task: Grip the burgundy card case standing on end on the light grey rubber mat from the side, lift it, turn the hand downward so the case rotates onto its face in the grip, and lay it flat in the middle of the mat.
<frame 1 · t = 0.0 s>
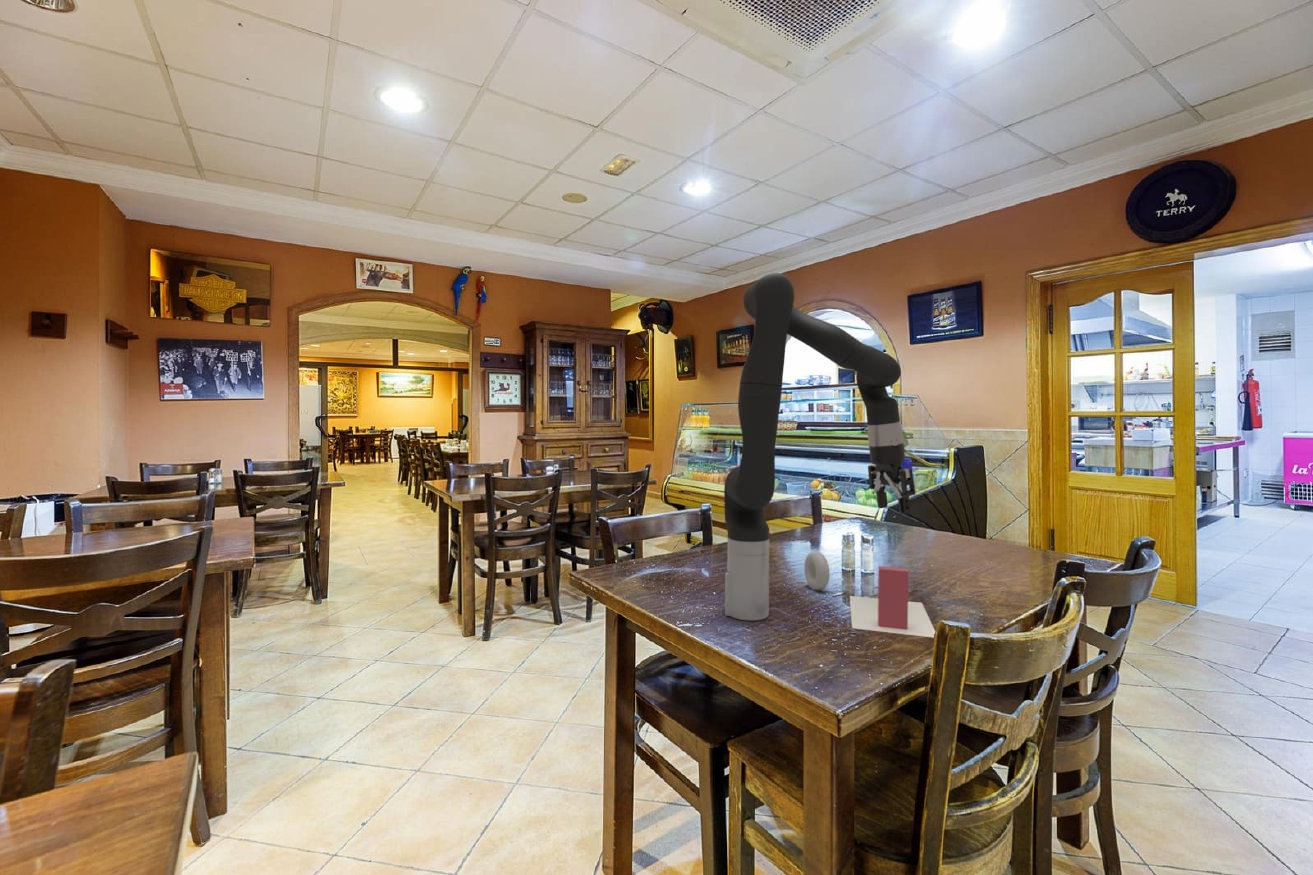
hand: (893, 510, 128), 22 cm above the table, tool pointing down, fingers open, 8 cm apart
donut: (816, 591, 139), on the table
mat: (889, 617, 120), on the table
card case: (892, 625, 113), point 1 cm above the table, touching mat
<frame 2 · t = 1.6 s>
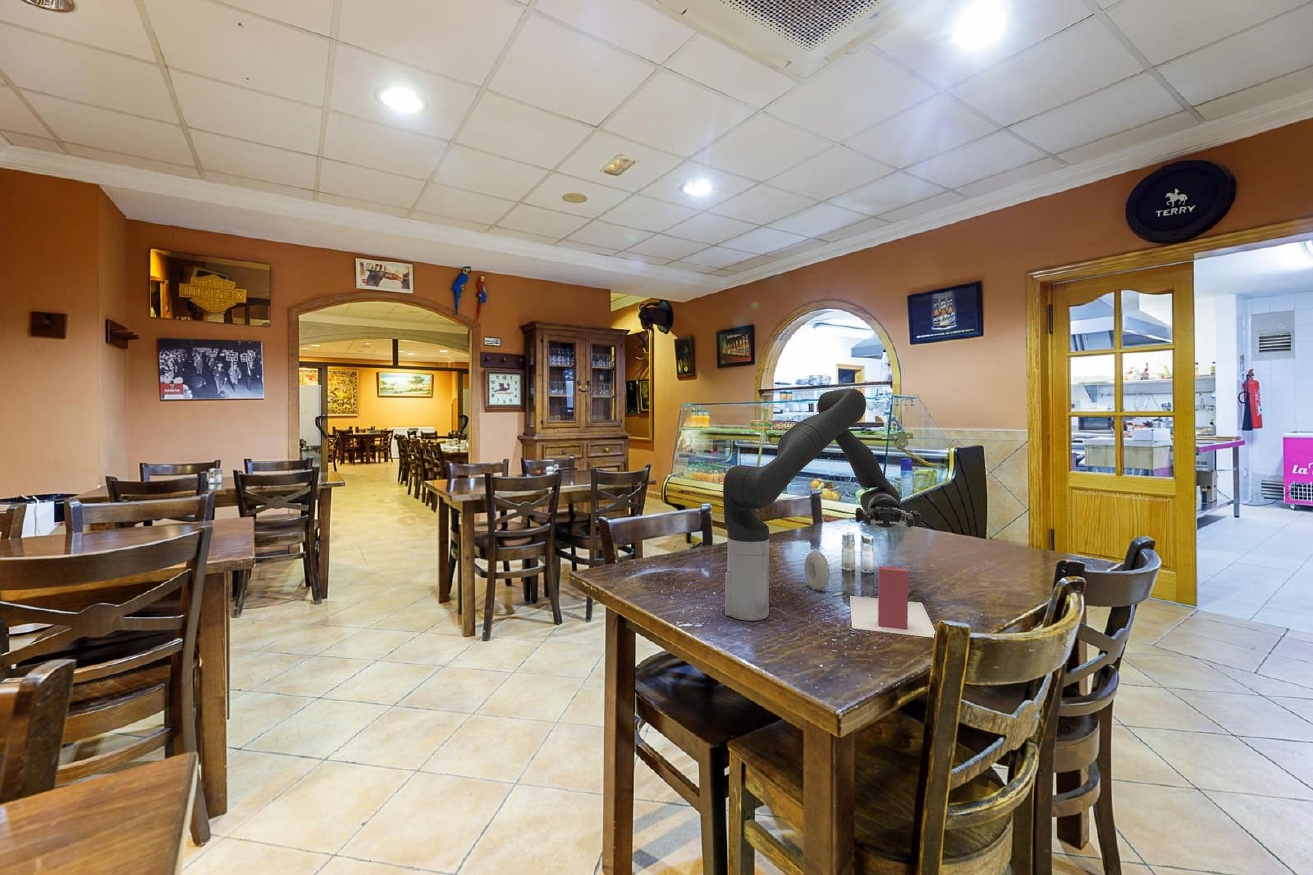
hand: (889, 521, 124), 20 cm above the table, tool horizontal, fingers open, 8 cm apart
nothing on the table moved.
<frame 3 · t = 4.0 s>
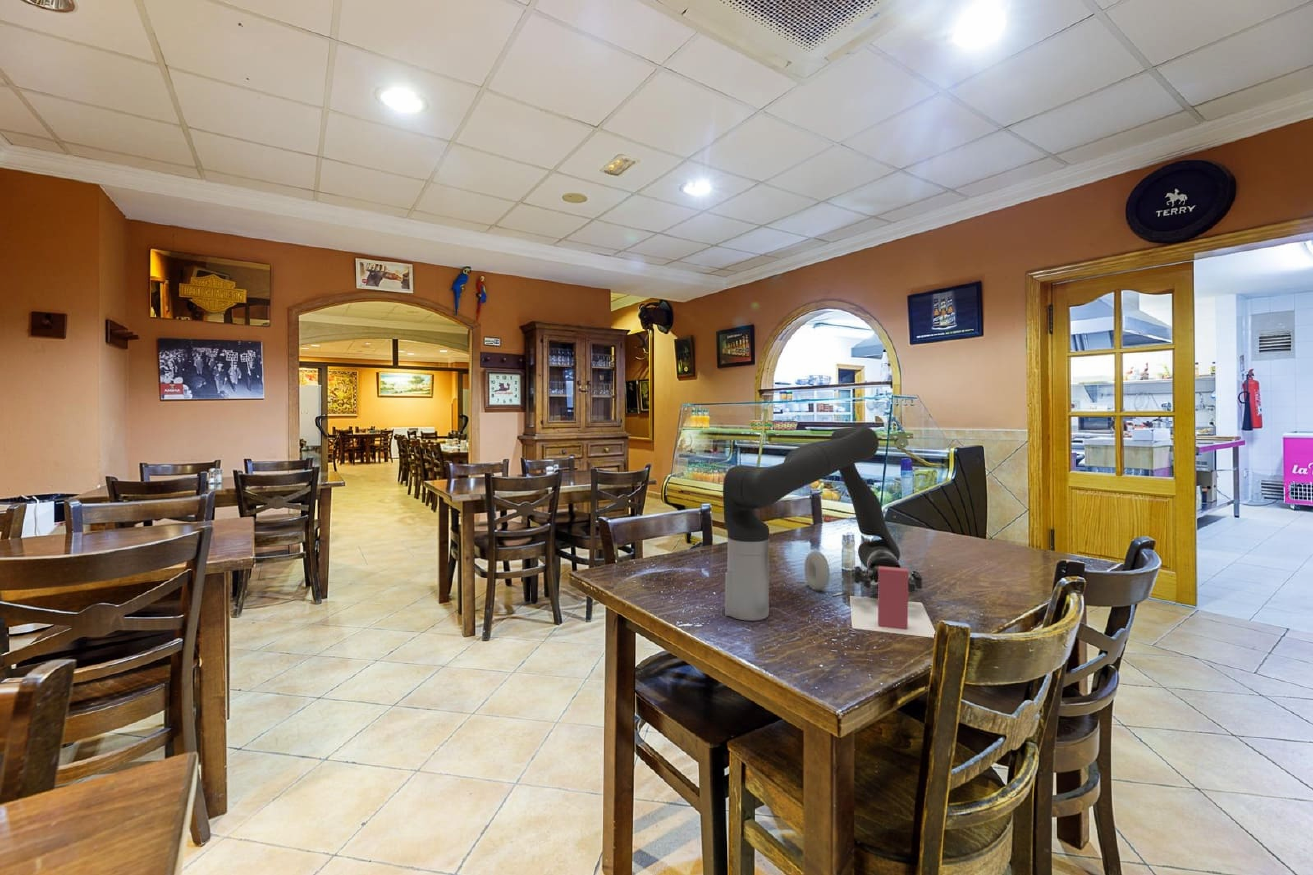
hand: (889, 586, 119), 7 cm above the table, tool horizontal, fingers open, 8 cm apart
nothing on the table moved.
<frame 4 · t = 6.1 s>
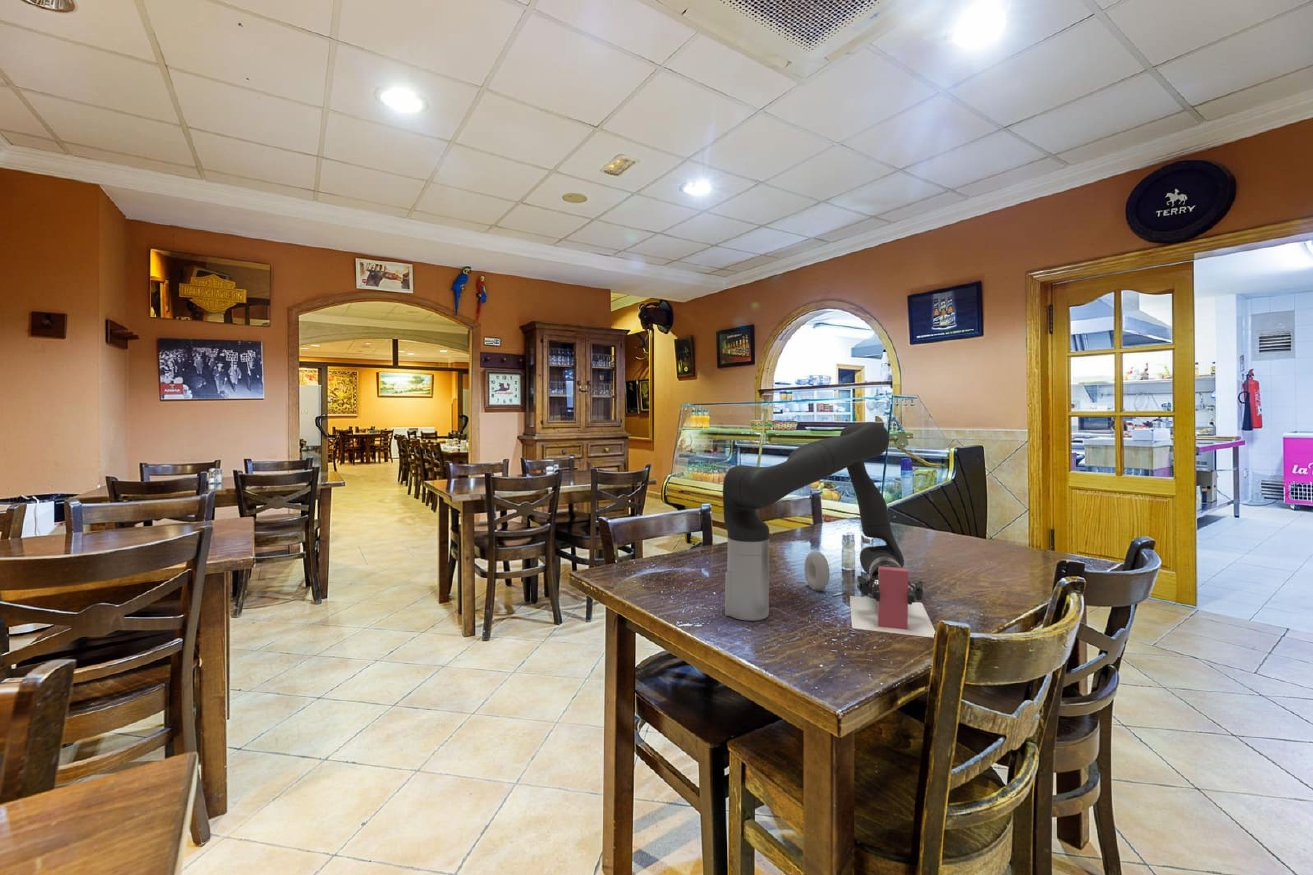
hand: (894, 598, 111), 7 cm above the table, tool horizontal, fingers closed on card case, 5 cm apart
card case: (892, 625, 113), point 1 cm above the table, touching gripper, mat
everything else where it was.
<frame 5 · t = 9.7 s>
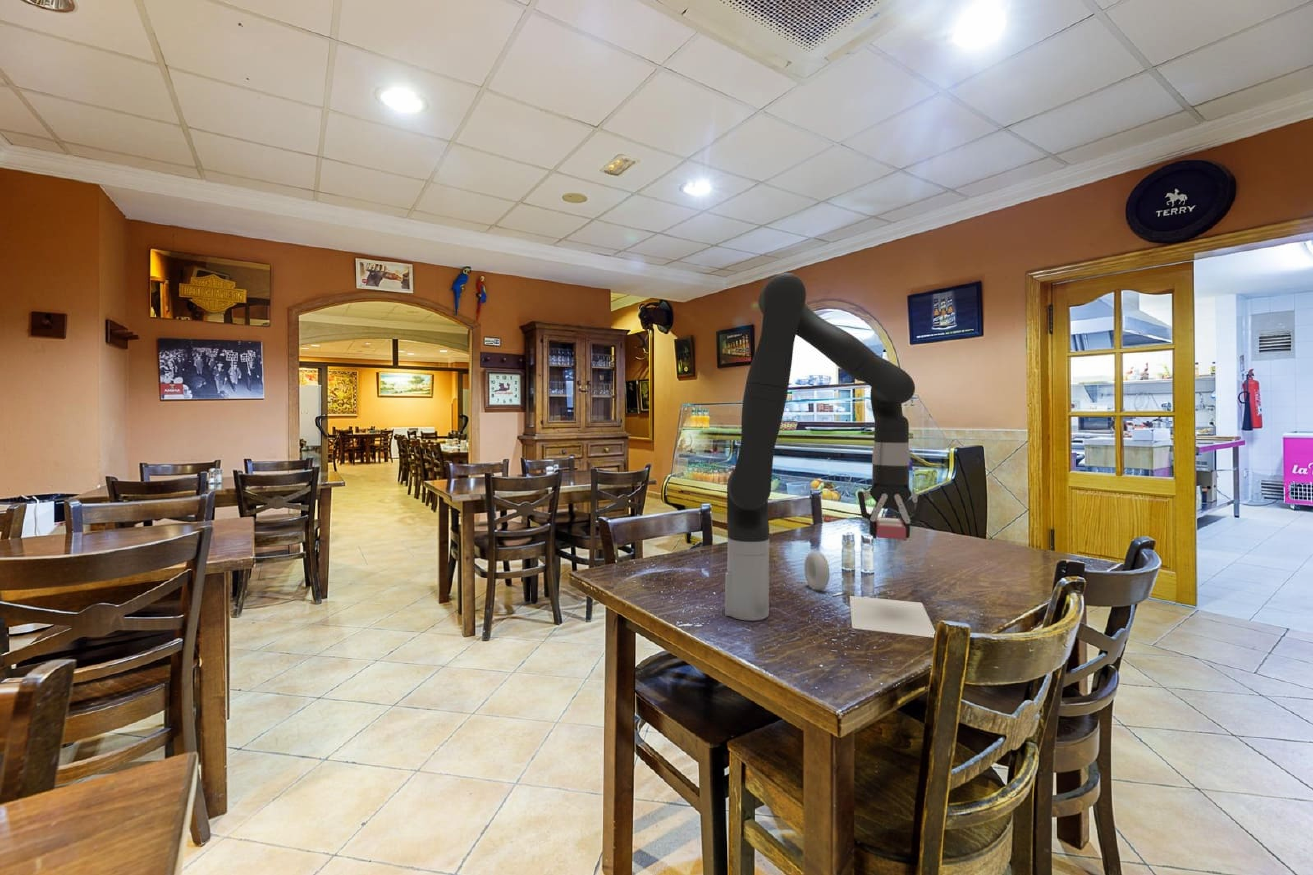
hand: (889, 538, 120), 17 cm above the table, tool pointing down, fingers closed on card case, 5 cm apart
card case: (886, 522, 127), point 20 cm above the table, tilted 90°, touching gripper
everything else where it was.
when the fingers open (2 cm above the table, at t = 12.8 s): card case drops 2 cm, resting on mat.
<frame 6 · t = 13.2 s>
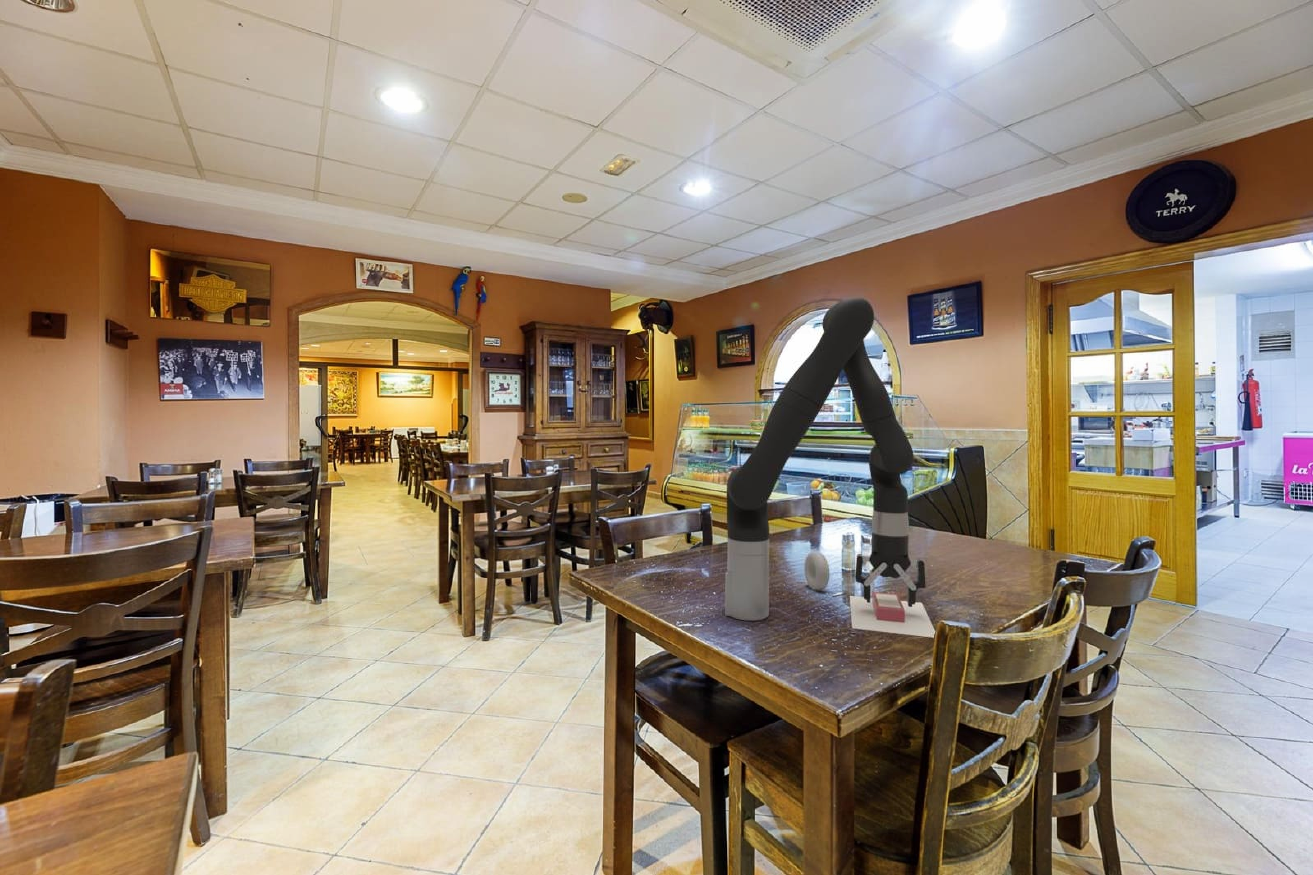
hand: (889, 603, 121), 3 cm above the table, tool pointing down, fingers open, 8 cm apart
card case: (884, 598, 127), point 2 cm above the table, tilted 90°, touching mat
everything else where it was.
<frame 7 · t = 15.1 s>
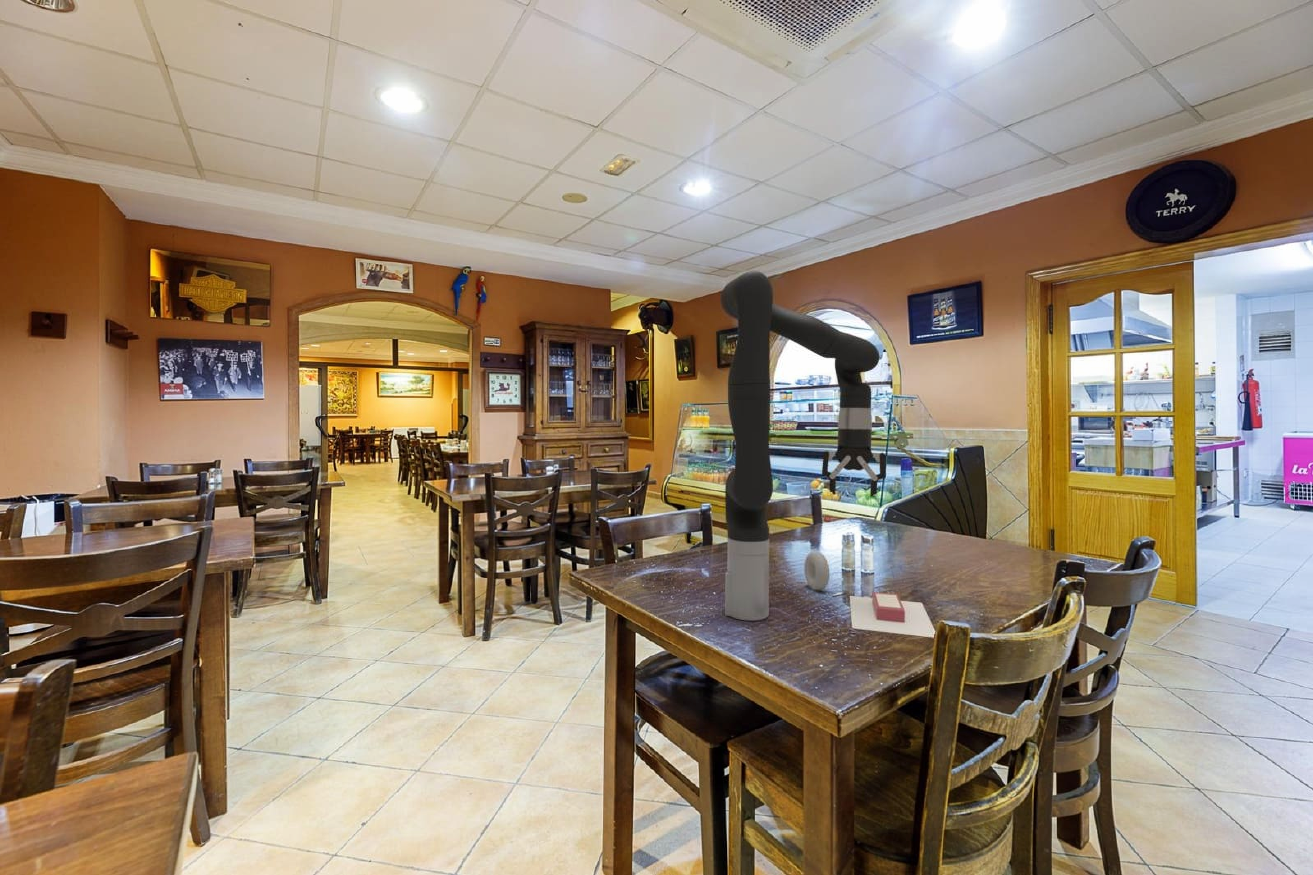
hand: (852, 495, 129), 26 cm above the table, tool pointing down, fingers open, 8 cm apart
nothing on the table moved.
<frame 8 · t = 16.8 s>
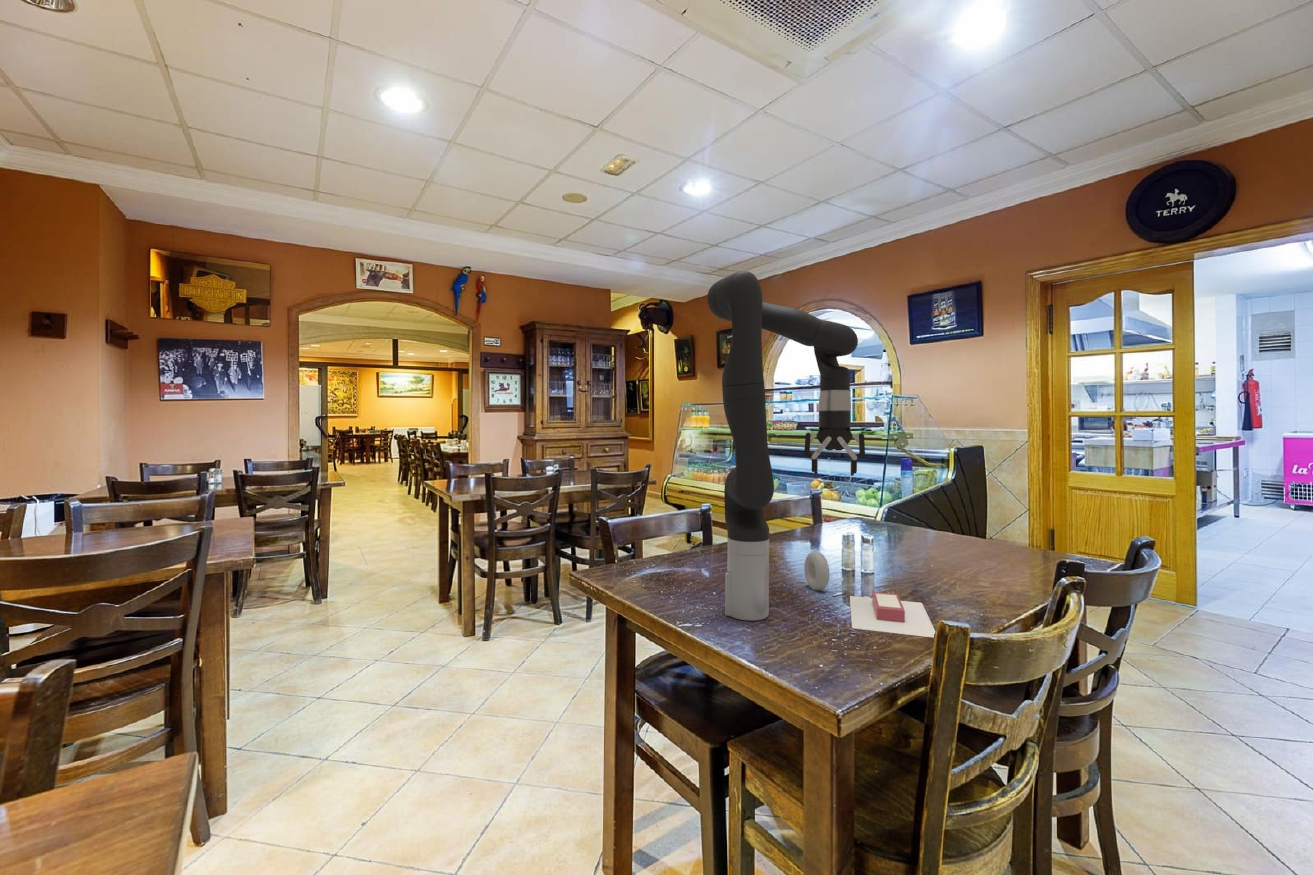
hand: (833, 474, 134), 30 cm above the table, tool pointing down, fingers open, 8 cm apart
nothing on the table moved.
at the end: card case tilted 90°; card case inside the target area (6.2 cm from its centre), point 1.8 cm above the table; the gripper is holding nothing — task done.
